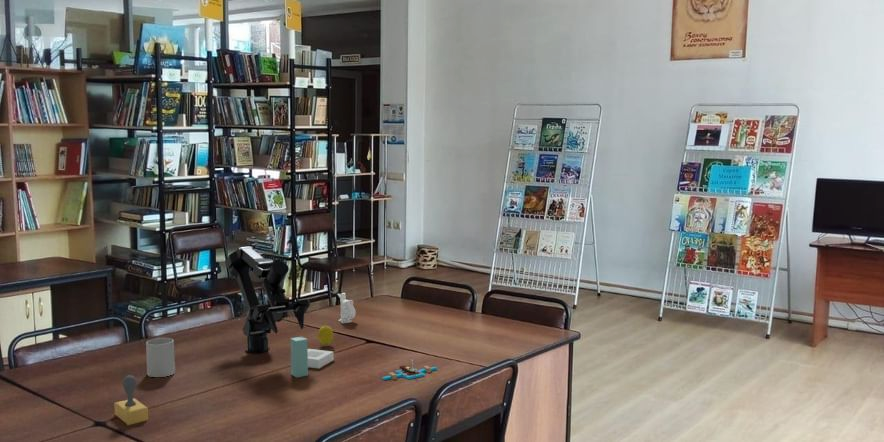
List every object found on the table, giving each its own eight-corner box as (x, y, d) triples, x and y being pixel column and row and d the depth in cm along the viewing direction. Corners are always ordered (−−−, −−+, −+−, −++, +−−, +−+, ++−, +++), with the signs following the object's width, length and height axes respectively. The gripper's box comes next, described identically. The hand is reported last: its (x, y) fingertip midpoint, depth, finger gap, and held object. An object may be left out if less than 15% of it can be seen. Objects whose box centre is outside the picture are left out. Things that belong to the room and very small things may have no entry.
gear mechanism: (375, 376, 249) (389, 384, 241) (374, 360, 248) (389, 367, 240) (427, 366, 260) (442, 373, 252) (427, 350, 259) (442, 357, 251)
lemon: (330, 348, 279) (330, 327, 278) (316, 347, 280) (315, 326, 279) (335, 344, 284) (335, 323, 283) (321, 343, 285) (321, 322, 284)
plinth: (292, 365, 259) (292, 356, 259) (308, 357, 268) (308, 348, 268) (318, 368, 256) (318, 359, 255) (333, 360, 265) (333, 351, 265)
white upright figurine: (332, 321, 317) (332, 293, 316) (345, 319, 322) (345, 291, 321) (345, 325, 312) (345, 296, 310) (358, 322, 316) (358, 294, 315)
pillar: (291, 374, 250) (290, 338, 248) (302, 372, 252) (301, 336, 250) (296, 377, 246) (295, 341, 245) (307, 375, 249) (307, 339, 247)
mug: (178, 375, 248) (177, 342, 247) (151, 380, 243) (150, 346, 242) (167, 365, 258) (166, 334, 257) (141, 370, 253) (139, 338, 252)
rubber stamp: (114, 415, 214) (112, 373, 213) (135, 410, 218) (133, 369, 216) (127, 425, 207) (125, 382, 205) (148, 420, 210) (146, 377, 209)
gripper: (292, 302, 271) (307, 339, 263) (242, 309, 260) (256, 348, 252) (302, 283, 264) (318, 321, 256) (251, 290, 253) (265, 329, 245)
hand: (289, 330), depth 253 cm, fingers open, 9 cm apart
